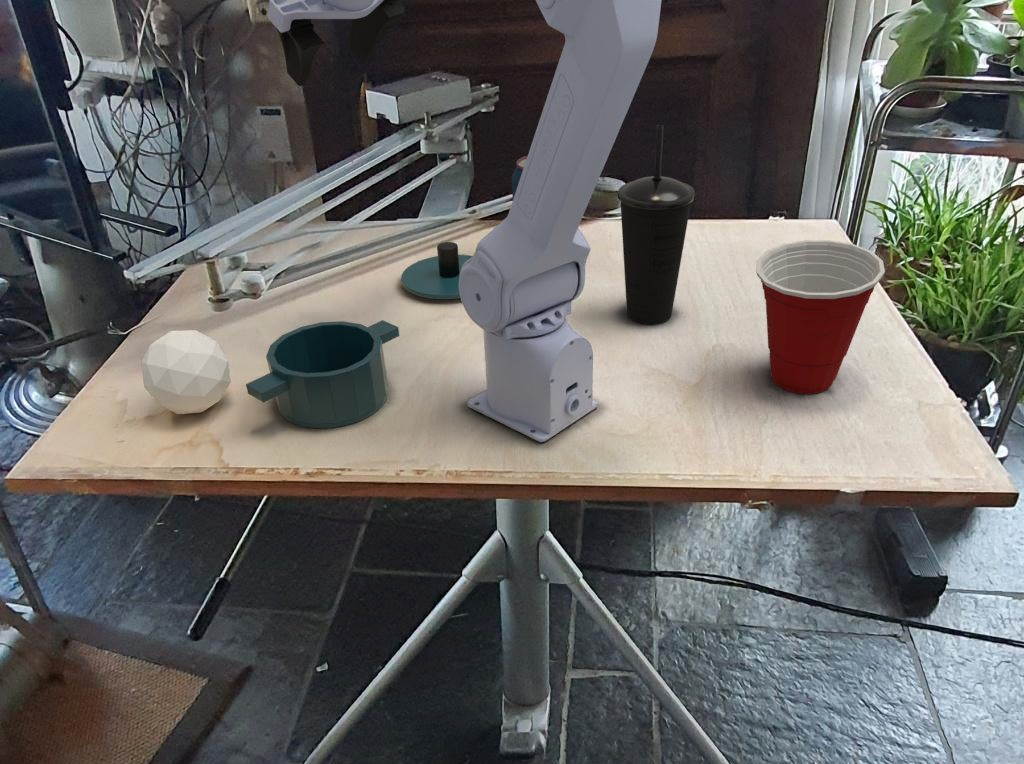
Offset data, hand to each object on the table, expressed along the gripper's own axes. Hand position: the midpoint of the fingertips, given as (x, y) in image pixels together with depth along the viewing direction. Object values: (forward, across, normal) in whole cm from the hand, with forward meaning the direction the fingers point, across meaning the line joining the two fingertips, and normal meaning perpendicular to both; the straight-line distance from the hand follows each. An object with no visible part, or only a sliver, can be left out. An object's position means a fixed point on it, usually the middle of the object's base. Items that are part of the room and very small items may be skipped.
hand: (327, 67), depth 88 cm
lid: (+18, -8, +18) cm, 27 cm away
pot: (+11, +17, +26) cm, 33 cm away
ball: (+16, +27, +18) cm, 36 cm away
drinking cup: (+7, -16, +38) cm, 41 cm away
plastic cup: (-4, -14, +53) cm, 55 cm away
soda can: (+18, -20, +22) cm, 34 cm away
